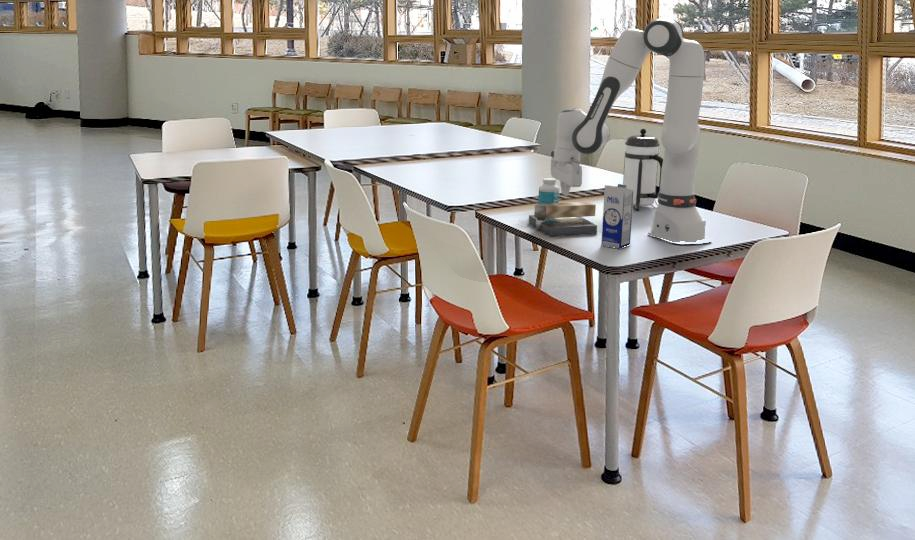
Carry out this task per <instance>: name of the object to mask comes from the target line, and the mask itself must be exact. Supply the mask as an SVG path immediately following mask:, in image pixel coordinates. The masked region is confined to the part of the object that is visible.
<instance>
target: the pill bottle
mask: <svg viewBox="0 0 915 540" xmlns="http://www.w3.org/2000/svg"><path fill="white" fill-rule="evenodd" d="M556 183H557V179H556V178H554V177H544V178H542V184H540V185H539V186H538V204H551V203H560V187H559V185H557V184H556Z"/></svg>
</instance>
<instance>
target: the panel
mask: <svg viewBox="0 0 915 540" xmlns="http://www.w3.org/2000/svg"><path fill="white" fill-rule="evenodd" d="M528 224H529V225H530V226H532V227H534V228H535V231H538V232H541V233H543V234H544V235H545V236H548V237H549V238H552V237H555V238H556V237H569V236H572V237H573V236H587V235H597V234H598V225H597V224H595V223H593V221H589V220H588V219H586V218H584V217H566V218H535V217H534V214H529V215H528Z"/></svg>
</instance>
